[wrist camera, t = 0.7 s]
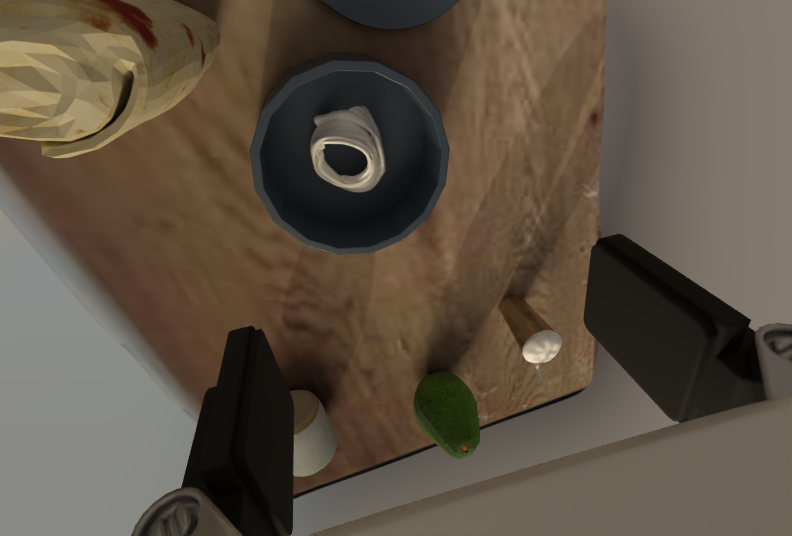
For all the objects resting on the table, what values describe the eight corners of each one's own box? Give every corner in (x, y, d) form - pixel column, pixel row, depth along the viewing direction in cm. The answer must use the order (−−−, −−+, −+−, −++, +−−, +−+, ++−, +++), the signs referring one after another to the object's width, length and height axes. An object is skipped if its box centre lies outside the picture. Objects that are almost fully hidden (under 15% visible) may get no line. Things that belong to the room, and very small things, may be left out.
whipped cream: (391, 170, 41) (408, 189, 37) (330, 199, 40) (340, 222, 37) (362, 90, 36) (378, 103, 32) (291, 122, 35) (299, 139, 32)
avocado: (471, 363, 57) (508, 437, 47) (444, 401, 60) (473, 479, 50) (421, 352, 54) (450, 429, 44) (396, 393, 57) (417, 474, 47)
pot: (236, 195, 38) (228, 222, 34) (290, 15, 32) (289, 17, 27) (387, 244, 45) (399, 273, 40) (458, 101, 38) (482, 115, 33)
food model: (208, -19, 30) (105, -52, 13) (240, 80, 34) (190, 151, 17) (67, 3, 29) (-234, -4, 12) (115, 102, 33) (-66, 200, 16)
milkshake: (487, 323, 54) (523, 380, 46) (500, 289, 51) (540, 343, 43) (518, 323, 55) (558, 379, 47) (532, 290, 52) (577, 343, 44)
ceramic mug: (317, 377, 53) (319, 429, 46) (335, 416, 57) (339, 468, 51) (236, 401, 52) (226, 456, 46) (260, 438, 57) (255, 493, 50)
